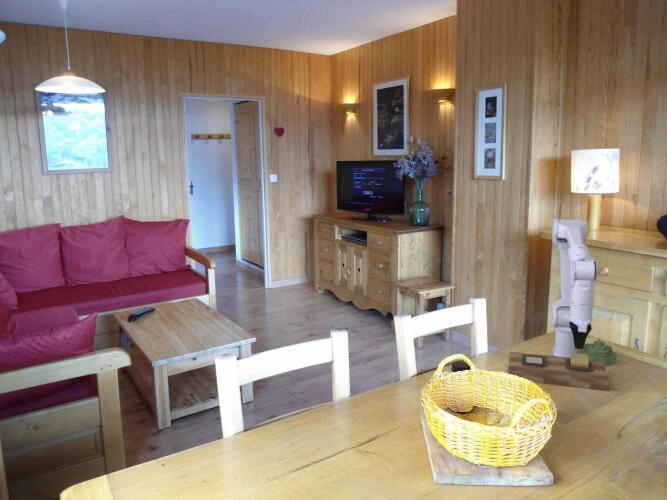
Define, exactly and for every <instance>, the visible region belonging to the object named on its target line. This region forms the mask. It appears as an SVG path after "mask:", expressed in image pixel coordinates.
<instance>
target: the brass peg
mask: <svg viewBox="0 0 667 500" xmlns="http://www.w3.org/2000/svg"><path fill="white" fill-rule="evenodd" d="M588 364H589V359H588V355H587V354H581V352H580V353H570V365H569V366H570V367H576V368H586V369H588Z"/></svg>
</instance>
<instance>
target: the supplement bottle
mask: <svg viewBox="0 0 667 500" xmlns="http://www.w3.org/2000/svg"><path fill="white" fill-rule="evenodd" d="M466 362H467V361H464V360H458V361H453V362H452V363H451V368H450V371H451V372H457V371H463V370H470V369H471V370H472V368H470V366H469V365H468V364H467V363H466Z"/></svg>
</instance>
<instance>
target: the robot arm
mask: <svg viewBox="0 0 667 500" xmlns="http://www.w3.org/2000/svg"><path fill="white" fill-rule="evenodd" d="M551 227H552V228H551V231H552V232H551V237H552V239H551V240H552V244H553V246H554V247H557V248H558V250H559V252H558V253H559V262H560V263H559V264H560V266H559V268H560V269H559V270H560V275H559V276H560V298H558V299H557V300H556V301H554V302H553V303H552V304H551V313H550V322H551V326H552V328H555V332H554V333H555V335H554V338H555V339H554V346H552V354H553V355H552V356H558V357H569V358H570V353H580V354H581V351H580V350H581V349H583V348H584V345H585V344H586V341H587V339H588V338H587V337H588V336H589V334H590V332H591V331H592V324H591V323H593V322H594V321H593V304H594V287H595V282H596V281H597V279H598V274H599V273H598V271H599V270H598V264H597V260H595V259H594V258H592V256H591V252H590V250H589V247H588V246H587V245H585V242H586V239H587V237H588V234H589V223H588V220H587V219H586V218H580V219H579V218H573V219H572V218H568V219H567V218H565V219H561V218H560V219H559V218H555V219H554V220H553V221H552V226H551Z"/></svg>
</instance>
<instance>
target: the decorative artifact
mask: <svg viewBox="0 0 667 500" xmlns="http://www.w3.org/2000/svg"><path fill="white" fill-rule="evenodd" d="M580 354H587V355H588V359H589V360H600V361H603V362H604V365H605V367H612V366H614V365H616V364H617V356H618V355H617V353H616V352H615V351H614V350H613V347H612V346H611V345H609V344H606V343H605V342H604V341H601V339H600V338H598V340H595V341H593V343H589V342H587V343H585V345H584V348H583V349H580Z"/></svg>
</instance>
